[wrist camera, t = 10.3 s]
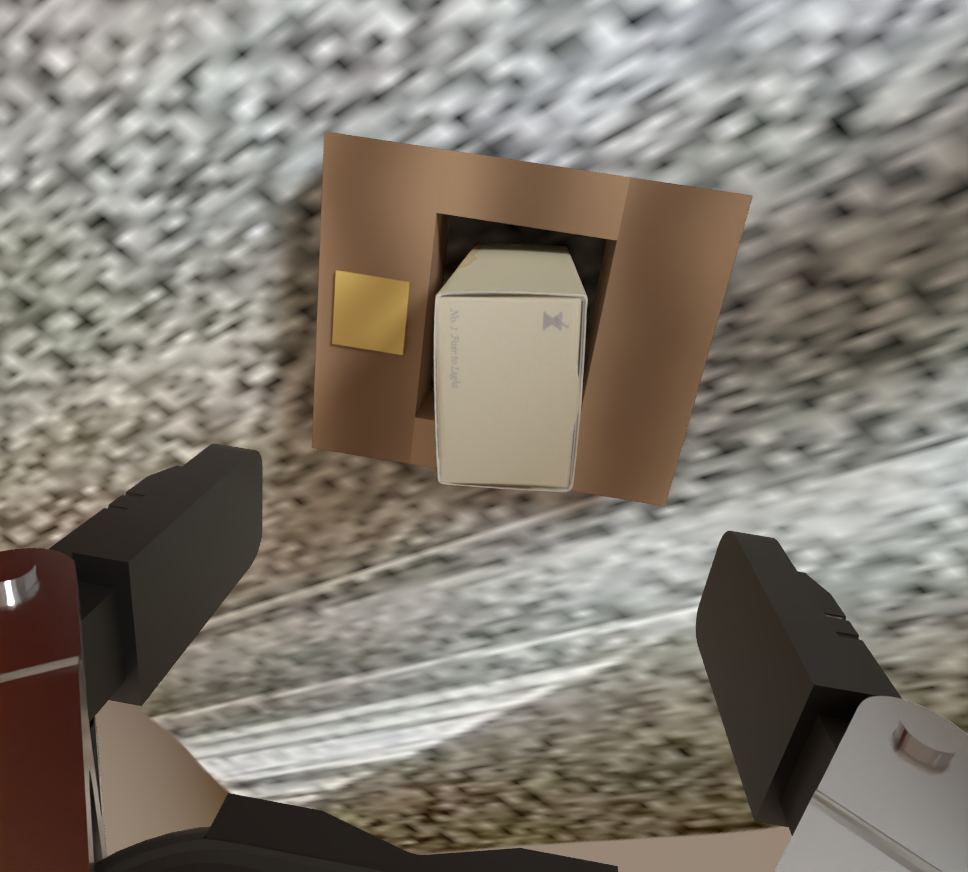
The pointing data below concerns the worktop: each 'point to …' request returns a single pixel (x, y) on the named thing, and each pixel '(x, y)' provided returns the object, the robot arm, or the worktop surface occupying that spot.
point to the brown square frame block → (531, 203)
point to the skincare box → (509, 369)
